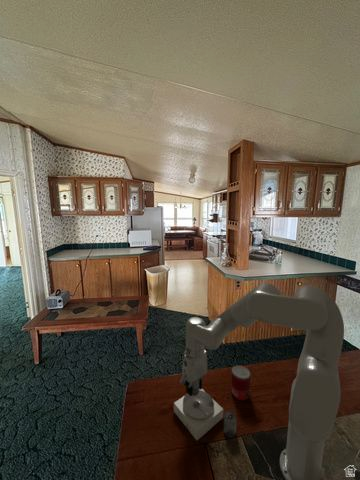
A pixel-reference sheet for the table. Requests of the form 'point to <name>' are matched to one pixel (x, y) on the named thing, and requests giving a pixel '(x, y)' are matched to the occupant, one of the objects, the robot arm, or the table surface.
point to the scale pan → (198, 405)
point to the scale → (195, 425)
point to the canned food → (240, 382)
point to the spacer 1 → (195, 387)
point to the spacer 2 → (229, 424)
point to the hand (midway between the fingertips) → (193, 390)
